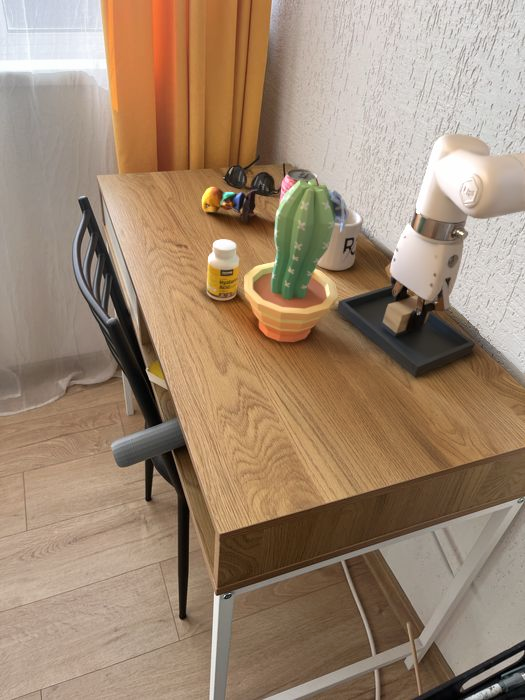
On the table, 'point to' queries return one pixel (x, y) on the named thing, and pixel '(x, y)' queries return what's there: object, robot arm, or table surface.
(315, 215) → the potted cactus
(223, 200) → the figurine
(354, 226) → the mug
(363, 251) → the table surface
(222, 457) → the table surface
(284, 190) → the beverage can
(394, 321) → the wooden block
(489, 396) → the table surface
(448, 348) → the tray
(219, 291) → the supplement bottle
